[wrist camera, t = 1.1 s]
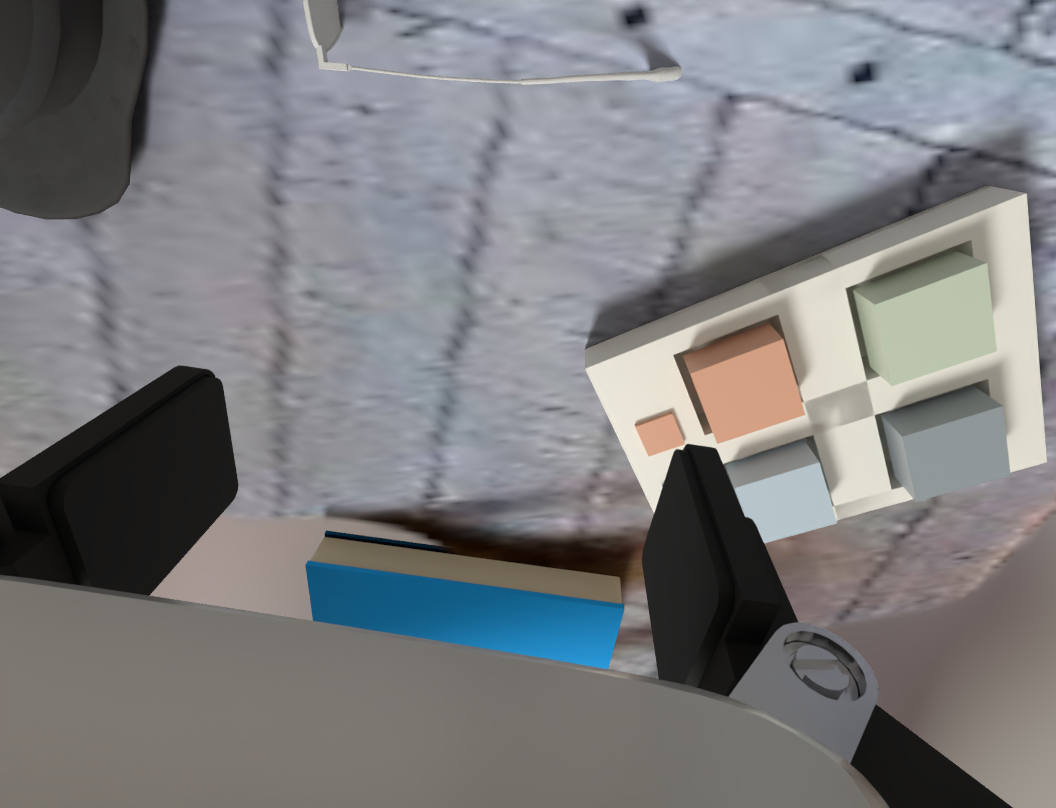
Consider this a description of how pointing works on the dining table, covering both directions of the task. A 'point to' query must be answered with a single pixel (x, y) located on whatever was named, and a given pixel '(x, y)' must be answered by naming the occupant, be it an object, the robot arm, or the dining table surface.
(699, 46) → the dining table surface
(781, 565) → the dining table surface
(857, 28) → the dining table surface
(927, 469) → the key slate
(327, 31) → the eyeglasses
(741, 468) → the key blue
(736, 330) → the keypad
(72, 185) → the casserole
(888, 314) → the key sage
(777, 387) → the key terracotta
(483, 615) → the book
